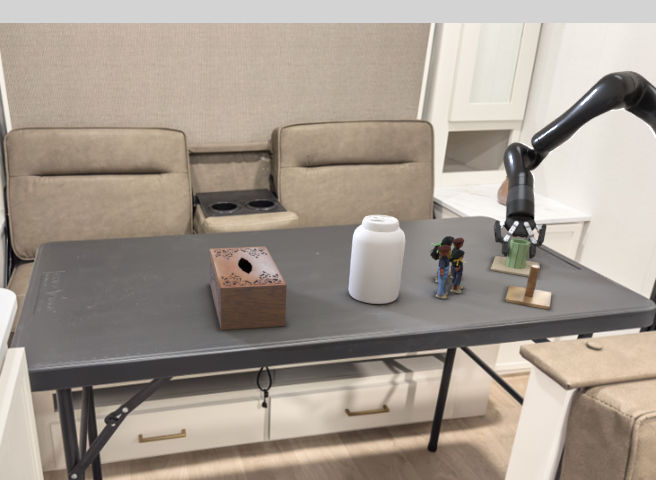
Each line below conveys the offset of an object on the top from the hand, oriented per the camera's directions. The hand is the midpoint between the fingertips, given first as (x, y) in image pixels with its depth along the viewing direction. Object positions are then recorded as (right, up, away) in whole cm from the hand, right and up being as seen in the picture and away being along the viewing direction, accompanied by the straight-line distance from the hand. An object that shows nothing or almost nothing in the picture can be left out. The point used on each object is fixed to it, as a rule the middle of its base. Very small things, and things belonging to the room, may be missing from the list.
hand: (518, 256), depth 163 cm
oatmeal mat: (0, -3, +3) cm, 4 cm away
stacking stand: (-5, -12, -17) cm, 21 cm away
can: (-44, -11, -16) cm, 48 cm away
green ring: (0, -2, +3) cm, 4 cm away
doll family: (-24, -9, -10) cm, 27 cm away
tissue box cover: (-76, -13, -22) cm, 81 cm away
